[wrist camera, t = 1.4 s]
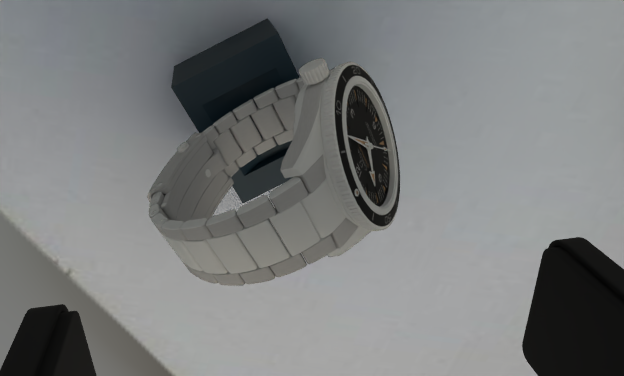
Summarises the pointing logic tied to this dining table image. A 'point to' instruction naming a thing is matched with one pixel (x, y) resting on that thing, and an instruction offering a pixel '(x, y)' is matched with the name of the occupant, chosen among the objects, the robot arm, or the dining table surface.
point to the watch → (274, 161)
